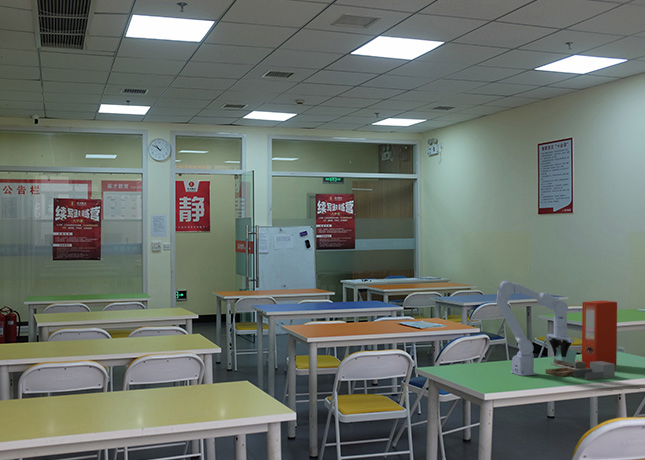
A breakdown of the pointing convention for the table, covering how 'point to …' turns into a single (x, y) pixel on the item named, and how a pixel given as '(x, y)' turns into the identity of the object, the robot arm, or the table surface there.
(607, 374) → the bay
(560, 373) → the tray
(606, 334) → the file binder
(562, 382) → the table surface
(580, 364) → the packaged product
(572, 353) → the tall teal block
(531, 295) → the robot arm
